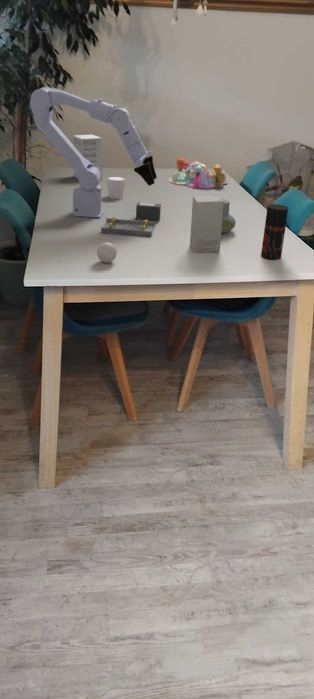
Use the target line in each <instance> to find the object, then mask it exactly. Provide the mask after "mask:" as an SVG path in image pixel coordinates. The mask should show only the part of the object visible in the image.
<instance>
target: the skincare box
mask: <svg viewBox="0 0 314 699" xmlns="http://www.w3.org/2000/svg"><path fill="white" fill-rule="evenodd" d="M223 206H224V201H223V200H222V198H221V197H220V196H219V195H202V196H201V195H199V196H195V195H194V196H192V206H191V223H190V238H189V247H190V248H191V250H192V251H193V253H216V252H218V253H220V251H221V240H222V234H221V229H222V217H223Z"/></svg>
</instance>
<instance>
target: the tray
mask: <svg viewBox="0 0 314 699" xmlns="http://www.w3.org/2000/svg"><path fill="white" fill-rule="evenodd" d="M155 222H156V221H148V220H136V219H125V218H124V219H123V218H122V219H121V218H116V217H114V216H112V217H111V218H110V217H107V218H106V221H105V223H104V225H103V226H102V227H101V228H100V233H102V234H114V235H129V236H138V237H139V236H140V237H152V236H153V233H154V229H155V224H156V223H155Z"/></svg>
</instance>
